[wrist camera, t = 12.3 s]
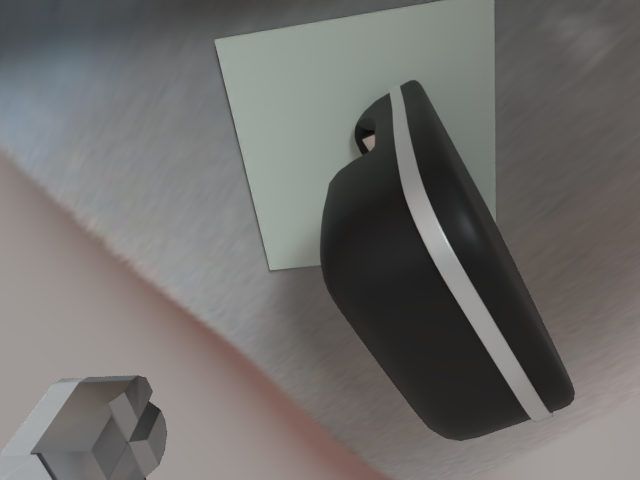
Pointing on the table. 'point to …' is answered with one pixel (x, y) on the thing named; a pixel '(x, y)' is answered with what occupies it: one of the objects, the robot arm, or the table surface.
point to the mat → (351, 104)
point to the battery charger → (434, 278)
